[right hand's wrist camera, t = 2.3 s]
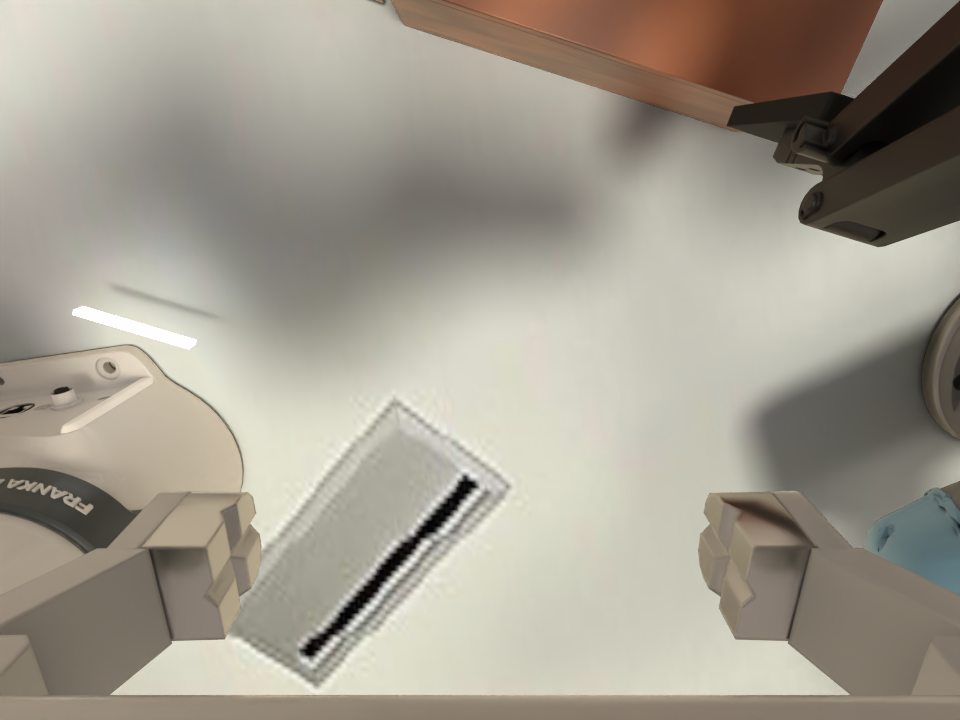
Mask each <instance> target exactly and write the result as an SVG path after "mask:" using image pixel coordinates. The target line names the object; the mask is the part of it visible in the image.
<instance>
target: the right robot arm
mask: <svg viewBox="0 0 960 720" xmlns="http://www.w3.org/2000/svg"><path fill="white" fill-rule="evenodd" d="M73 315H75V316H79V317H82V318H86V319H89V320H92V321H96V322H99V323H102V324H106V325H109V326H113V327H116V328H119V329H123V330H126V331H129V332H133V333H136V334H140V335H143V336H146V337H150V338H153V339H156V340H160V341H163V342H167V343H170V344H173V345H177V346H180V347H183V348H187V349H189V348H191V347H192V346H194V345H195V343H196V340H194V339H191V338H188V337H184V336H181V335H178V334H174V333H171V332H168V331H164V330H161V329H158V328H154V327H151V326H148V325H144V324H141V323H138V322H134V321H131V320H128V319H124V318H121V317H118V316H114V315H111V314H107V313H104V312H101V311H97V310H94V309H91V308H87V307H84V306H82V307H80V308H77V309H75V310H73ZM109 362H111V363H113V364H114V365H115V367H116V370H115V369H113V368H111V366H110V365H109ZM242 479H243V470H242V461H241V457H240V453H239V450H238V447H237V445H236V442H235V440H234V438H233V436H232V434H231V433H230V431H229V429H228V428H227V426H226V425H225V423H224V422H223V421H222V420H221V418H220V417H219V416H218V415H217V414H216V413H215V412H214V411H213V410H212V409H211V408H210V407H209V406H208V405H207V404H205V403H204V402H203V401H202V400H200V399H199V398H198V397H196V396H195V395H193V394H192V393H190V392H188V391H187V390H185V389H183V388H181V387H180V386H178V385H176V384H175V383H173V382H172V381H170V380H169V379H168V378H167V377H165V375H164V374H163V373H162V372H161V370H160V369H159V368H158V367H157V366H156V364H155V363H154V362H153V361H152V360H151V359H150V358H149V357H148V356H147V355H146V354H145V353H144V352H143V351H141V350H140V349H138V348H136V347H134V346H129V345H124V346H116V347H110V348H103V349H96V350H89V351H82V352H75V353H68V354H62V355H55V356H48V357H41V358H34V359H27V360H20V361H14V362H7V363H0V720H960V595H959V594H957V593H954V592H952V591H950V590H948V589H946V588H944V587H942V586H940V585H938V584H936V583H934V582H932V581H930V580H927V579H925V578H923V577H921V576H919V575H917V574H915V573H913V572H911V571H909V570H907V569H905V568H903V567H900V566H898V565H896V564H894V563H892V562H890V561H888V560H886V559H884V558H882V557H880V556H878V555H876V554H873V553H871V552H869V551H867V550H865V549H863V548H853V547H852V546H851V545H850V544H849V543H848V542H847V541H846V540H845V539H844V538H843V537H842V536H841V535H840V533H839V532H838V531H837V530H836V529H835V528H834V527H833V526H832V525H831V524H830V523H829V522H828V521H827V520H826V518H825V517H824V516H823V515H822V514H821V513H820V512H819V511H818V510H817V509H816V508H815V507H814V506H813V505H812V504H811V502H810V501H809V500H808V499H807V498H806V497H805V496H804V495H803V494H802V493H799V492H797V491H768V492H739V493H710V494H709V496H708V498H707V500H706V504H705V509H704V514H705V516H706V517H707V519H708V521H709V522H710V525H709V526H708V527H707V528H706V529H705V530H704V531H703V532H702V533H701V534H700V541H699V549H698V551H699V562H700V568H701V571H702V575H703V578H704V580H705V582H706V584H707V586H708V588H709V589H710V590H712V591H713V592H715V593H716V594H718V595H719V596H721V599H720V605H719V609H720V611H721V613H722V615H723V617H724V619H725V621H726V622H727V624H728V626H729V628H730V630H731V632H732V634H733V636H734V638H735V639H740V640H776V641H788V644H789V645H791V646H792V647H793V648H794V649H796V650H797V651H798V652H799V653H800V654H802V655H803V656H804V657H805V658H806V659H808V660H809V661H810V662H811V663H813V664H814V665H815V666H816V667H817V668H819V669H820V670H821V671H822V672H824V673H825V674H826V675H827V676H828V677H830V678H831V679H832V680H833V681H834V682H836V683H837V684H838V685H839V686H841V687H842V688H843V689H844V690H845V691H847V692H848V693H849V694H850V695H110V694H111V693H112V692H114V691H115V690H116V689H117V688H118V687H120V686H121V685H122V684H123V683H124V682H126V681H127V680H128V679H129V678H131V677H132V676H133V675H134V674H135V673H137V672H138V671H139V670H140V669H142V668H143V667H144V666H145V665H146V664H148V663H149V662H150V661H151V660H153V659H154V658H155V657H156V656H157V655H159V654H160V653H161V652H162V651H164V650H165V649H166V648H167V647H168V646H170V645H171V644H172V641H184V640H218V639H225V638H226V636H227V634H228V632H229V630H230V628H231V626H232V624H233V622H234V621H235V619H236V617H237V615H238V613H239V611H240V609H241V605H240V599H239V596H241V595H242V594H244V593H245V592H247V591H248V590H250V589H251V588H252V586H253V584H254V582H255V580H256V578H257V575H258V571H259V566H260V562H261V540H260V534H259V533H258V532H257V531H256V530H255V529H254V528H253V527H252V526H251V525H250V522H251V521H252V519H253V517H254V516H255V514H256V510H255V505H254V500H253V497H252V496H251V495H250V494H249V493H248V492H240V491H241V486H242Z"/></svg>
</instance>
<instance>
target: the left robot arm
mask: <svg viewBox="0 0 960 720" xmlns="http://www.w3.org/2000/svg"><path fill="white" fill-rule="evenodd" d="M726 126H728V127H731V128H734V129H737V130H740V131H743V132H746V133H749V134H753V135H756V136H759V137H762V138H765V139H768V140H771V141H774V142H777V143H779V144H778V146H777V148H776V151H775V153H774V155H773V157H774V159H775V160H776V161H777V163H780V164H783V165H786V166H789V167H792V168H796V169H799V170H802V171H805V172H808V173H811V174H816V175H823V180H822V182H820V183H818V184H816V185H815V186H814V187H812V188H811V189H810V190H809V191H808V193H807V194H806V195H805V197H804V199H803V201H802V202H801V205H800V208H799V216H798V218H799V220H800V223H802V224H804V225H807V226H811V227H814V228H817V229H820V230H823V231H827V232H830V233H833V234H836V235H840V236H843V237H846V238H850V239H853V240H856V241H859V242H863V243H866V244H870V245H873V246H876V247H883V246H887V245H890V244H892V243H895V242H898V241H901V240H904V239H907V238H910V237H913V236H916V235H919V234H922V233H924V232H927V231H930V230H933V229H936V228H939V227H942V226H945V225H948V224H951V223H953V222H956V221H959V220H960V1H959V2H958V3H957V4H956V5H955V6H954V7H953V8H952V9H951V10H949V11H948V12H947V13H946V14H945V15H944V16H943V17H942V18H941V19H940V20H939V21H938V22H937V23H935V24H934V25H933V26H932V27H931V28H930V29H929V30H928V31H927V32H926V33H925V34H924V35H923V36H922V37H920V38H919V39H918V40H917V41H916V42H915V43H914V44H913V45H912V46H911V47H910V48H909V49H908V50H906V51H905V52H904V53H903V54H902V55H901V56H900V57H899V58H898V59H897V60H896V61H895V62H894V63H893V64H891V65H890V66H889V67H888V68H887V69H886V70H885V71H884V72H883V73H882V74H881V75H880V76H879V77H877V78H876V79H875V80H874V81H873V82H872V83H871V84H870V85H869V86H868V87H867V88H866V89H865V90H863V91H862V92H861V93H860V94H859V95H858V96H857V97H856V98H855V99H853V98H850V97H847V96H844V95H842V94H839V93H836V92H833V91H830V92H824V93H817V94H811V95H804V96H798V97H791V98H785V99H778V100H772V101H765V102H759V103H752V104H746V105H740V106H734V108H733V110H732V113H731V115H730V118H729V120H728V123H727V125H726ZM922 391H923V396H924V400H925V403H926V406H927V408H928V410H929V412H930V414H931V415H932V417H933V418H934V420H935V421H936V422H937V423H938V424H939V425H940V426H941V427H942V428H943V429H944V430H945V431H947V432H948V433H949V434H951V435H952V436H954V437H956V438H958V439H959V440H960V297H959V299H958V300H957V301H956V302H955V303H954V304H953V305H952V306H951V308H950V309H949V310H948V311H947V313H946V314H945V315H944V317H943V318H942V320H941V321H940V323H939V324H938V326H937V328H936V330H935V331H934V333H933V336H932V338H931V340H930V342H929V345H928V347H927V350H926V353H925V357H924V361H923V367H922ZM865 550H867V551H869V552H871V553H873V554H876V555H878V556H880V557H882V558H884V559H886V560H888V561H890V562H892V563H894V564H896V565H898V566H900V567H903V568H905V569H907V570H909V571H911V572H913V573H915V574H917V575H919V576H921V577H923V578H925V579H927V580H930V581H932V582H934V583H936V584H938V585H940V586H942V587H944V588H946V589H948V590H950V591H952V592H954V593H957V594H959V595H960V481H959V482H956V483H954V484H951V485H949V486H946V487H944V488H941V489H939V488H933V489H931V490H929V491H927V492H926V493H925V494H924V497H922V498H921V499H919V500H917V501H915V502H913V503H911V504H909V505H907V506H905V507H903V508H901V509H899V510H897V511H895V512H892V513H890V514H888V515H886V516H884V517H882V518H880V519H879V520H878V521H876V522H875V523H874V524H873V525H872V527H871V528H870V529H869V531H868V533H867V536H866V540H865Z"/></svg>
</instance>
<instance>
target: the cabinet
mask: <svg viewBox="0 0 960 720" xmlns="http://www.w3.org/2000/svg"><path fill="white" fill-rule="evenodd" d="M882 1H883V0H391V2H392V4H393V6H394V7H395V9H396V11H397V13H398V15H399V17H400V18H401V20H402V22H403V24H404V25H405V26H408V27H411V28H415V29H418V30H421V31H424V32H427V33H430V34H433V35H436V36H439V37H443V38H446V39H449V40H452V41H455V42H458V43H461V44H464V45H467V46H471V47H474V48H477V49H480V50H483V51H486V52H489V53H492V54H495V55H499V56H502V57H505V58H508V59H511V60H514V61H517V62H520V63H523V64H527V65H530V66H533V67H536V68H539V69H542V70H545V71H548V72H551V73H554V74H558V75H561V76H564V77H567V78H570V79H573V80H576V81H579V82H582V83H586V84H589V85H592V86H595V87H598V88H601V89H604V90H607V91H610V92H614V93H617V94H620V95H623V96H626V97H629V98H632V99H635V100H638V101H642V102H645V103H648V104H651V105H654V106H657V107H660V108H663V109H666V110H669V111H673V112H676V113H679V114H682V115H685V116H688V117H691V118H694V119H697V120H701V121H704V122H707V123H710V124H713V125H716V126H719V127H722V128H725V129H729V130H732V131H735V132H743V131H740V130H737V129H734V128H731V127H728V126H726V125H727V123H728V120H729V118H730V115H731V113H732V110H733V108H734V106H740V105H746V104H752V103H759V102H765V101H772V100H778V99H785V98H791V97H798V96H804V95H811V94H817V93H824V92H830V91H833V92H836V93H839V94H841V92H842V89H843V87H844V85H845V83H846V81H847V78H848V76H849V74H850V72H851V70H852V67H853V65H854V63H855V61H856V59H857V56H858V54H859V52H860V50H861V48H862V45H863V43H864V41H865V39H866V37H867V34H868V32H869V30H870V28H871V26H872V23H873V21H874V19H875V17H876V15H877V12H878V10H879V8H880V6H881V4H882Z"/></svg>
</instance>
